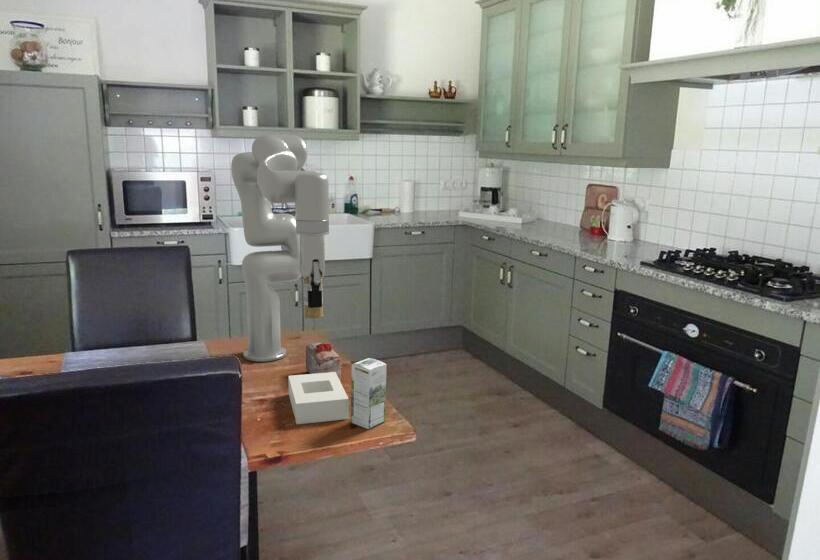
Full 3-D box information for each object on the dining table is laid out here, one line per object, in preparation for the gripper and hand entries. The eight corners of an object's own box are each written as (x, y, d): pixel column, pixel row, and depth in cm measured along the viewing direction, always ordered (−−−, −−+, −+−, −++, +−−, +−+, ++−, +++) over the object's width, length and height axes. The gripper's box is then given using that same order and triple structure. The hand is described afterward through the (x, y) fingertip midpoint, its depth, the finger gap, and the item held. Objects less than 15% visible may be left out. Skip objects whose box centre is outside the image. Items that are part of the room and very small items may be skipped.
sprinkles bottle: (326, 318, 145) (325, 262, 142) (308, 320, 142) (307, 263, 140) (318, 314, 148) (317, 259, 146) (300, 316, 146) (299, 260, 143)
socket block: (288, 394, 156) (288, 375, 155) (335, 390, 160) (335, 371, 159) (296, 424, 139) (296, 403, 138) (348, 418, 143) (348, 398, 142)
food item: (345, 384, 164) (345, 349, 162) (316, 389, 160) (316, 353, 158) (327, 368, 176) (327, 335, 174) (300, 372, 172) (300, 338, 170)
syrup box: (367, 415, 145) (367, 356, 142) (386, 422, 141) (386, 362, 138) (350, 422, 141) (350, 362, 138) (369, 430, 137) (369, 369, 134)
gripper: (292, 223, 148) (294, 297, 152) (299, 232, 132) (301, 314, 136) (323, 223, 150) (324, 295, 154) (334, 231, 134) (335, 312, 138)
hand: (313, 303), depth 145 cm, fingers closed on sprinkles bottle, 4 cm apart
